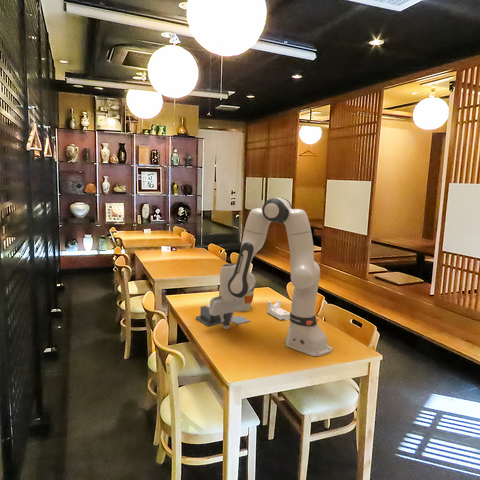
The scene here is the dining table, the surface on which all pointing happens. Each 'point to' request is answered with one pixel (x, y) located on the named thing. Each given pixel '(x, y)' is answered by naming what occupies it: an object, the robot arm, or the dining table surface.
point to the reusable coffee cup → (248, 299)
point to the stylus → (226, 321)
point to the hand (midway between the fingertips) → (226, 321)
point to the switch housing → (208, 317)
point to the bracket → (278, 311)
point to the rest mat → (239, 320)
